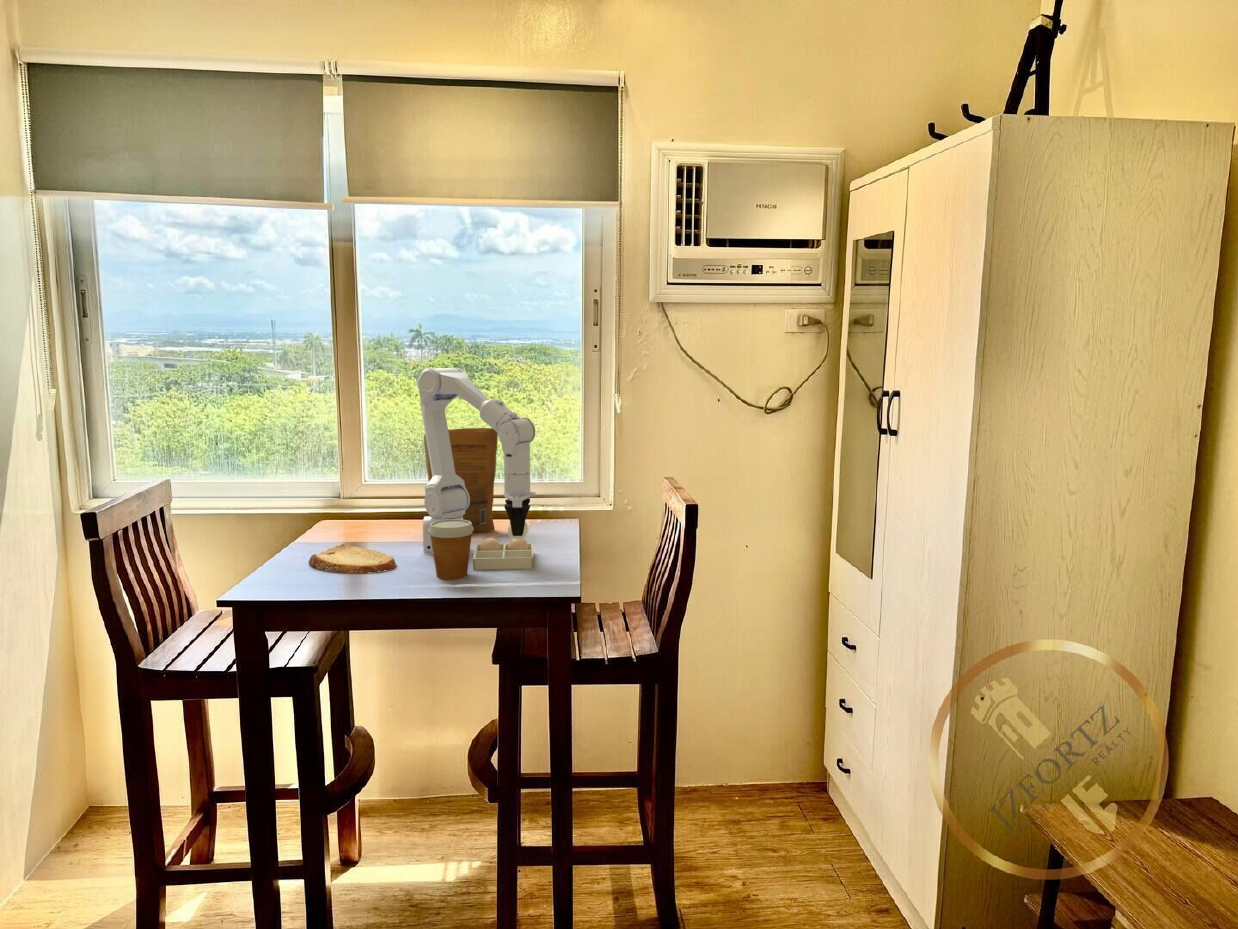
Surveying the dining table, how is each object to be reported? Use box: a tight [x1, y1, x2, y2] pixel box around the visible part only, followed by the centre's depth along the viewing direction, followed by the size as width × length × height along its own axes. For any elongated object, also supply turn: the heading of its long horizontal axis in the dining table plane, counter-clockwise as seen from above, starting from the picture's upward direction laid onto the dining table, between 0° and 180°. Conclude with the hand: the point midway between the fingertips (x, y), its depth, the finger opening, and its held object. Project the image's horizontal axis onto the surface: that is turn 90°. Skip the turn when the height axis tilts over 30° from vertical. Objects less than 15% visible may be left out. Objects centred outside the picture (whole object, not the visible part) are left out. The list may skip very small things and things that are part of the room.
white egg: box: [507, 521, 529, 539], centre depth 179 cm, size 5×5×5 cm
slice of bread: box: [308, 543, 398, 574], centre depth 182 cm, size 18×18×4 cm
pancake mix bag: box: [423, 427, 499, 534], centre depth 213 cm, size 7×19×28 cm, turn 92°
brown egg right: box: [508, 538, 528, 550], centre depth 187 cm, size 5×5×5 cm
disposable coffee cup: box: [428, 519, 474, 581], centre depth 171 cm, size 10×10×12 cm
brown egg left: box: [480, 537, 501, 551], centre depth 186 cm, size 5×5×5 cm
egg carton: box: [472, 542, 534, 571], centre depth 183 cm, size 13×13×3 cm
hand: (517, 533), depth 180 cm, fingers closed on white egg, 5 cm apart
